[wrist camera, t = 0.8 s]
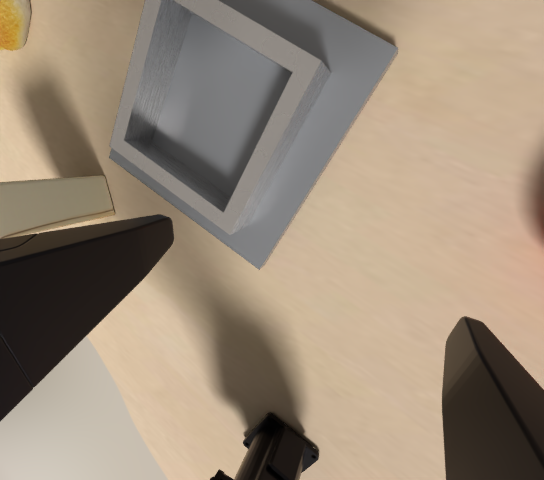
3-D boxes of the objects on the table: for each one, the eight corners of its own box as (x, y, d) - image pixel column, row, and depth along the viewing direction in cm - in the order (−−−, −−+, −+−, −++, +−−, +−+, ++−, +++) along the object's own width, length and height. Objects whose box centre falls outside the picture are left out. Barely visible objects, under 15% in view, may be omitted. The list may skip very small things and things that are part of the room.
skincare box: (79, 218, 33) (-73, 252, 22) (66, 179, 32) (-99, 195, 21) (117, 214, 31) (-32, 250, 20) (106, 172, 29) (-59, 185, 19)
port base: (264, 265, 26) (259, 269, 25) (117, 157, 28) (109, 157, 27) (397, 53, 18) (398, 47, 17) (177, -69, 20) (168, -79, 20)
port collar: (247, 225, 24) (229, 235, 21) (138, 146, 26) (109, 146, 23) (331, 73, 18) (321, 60, 16) (185, -13, 20) (154, -37, 18)
